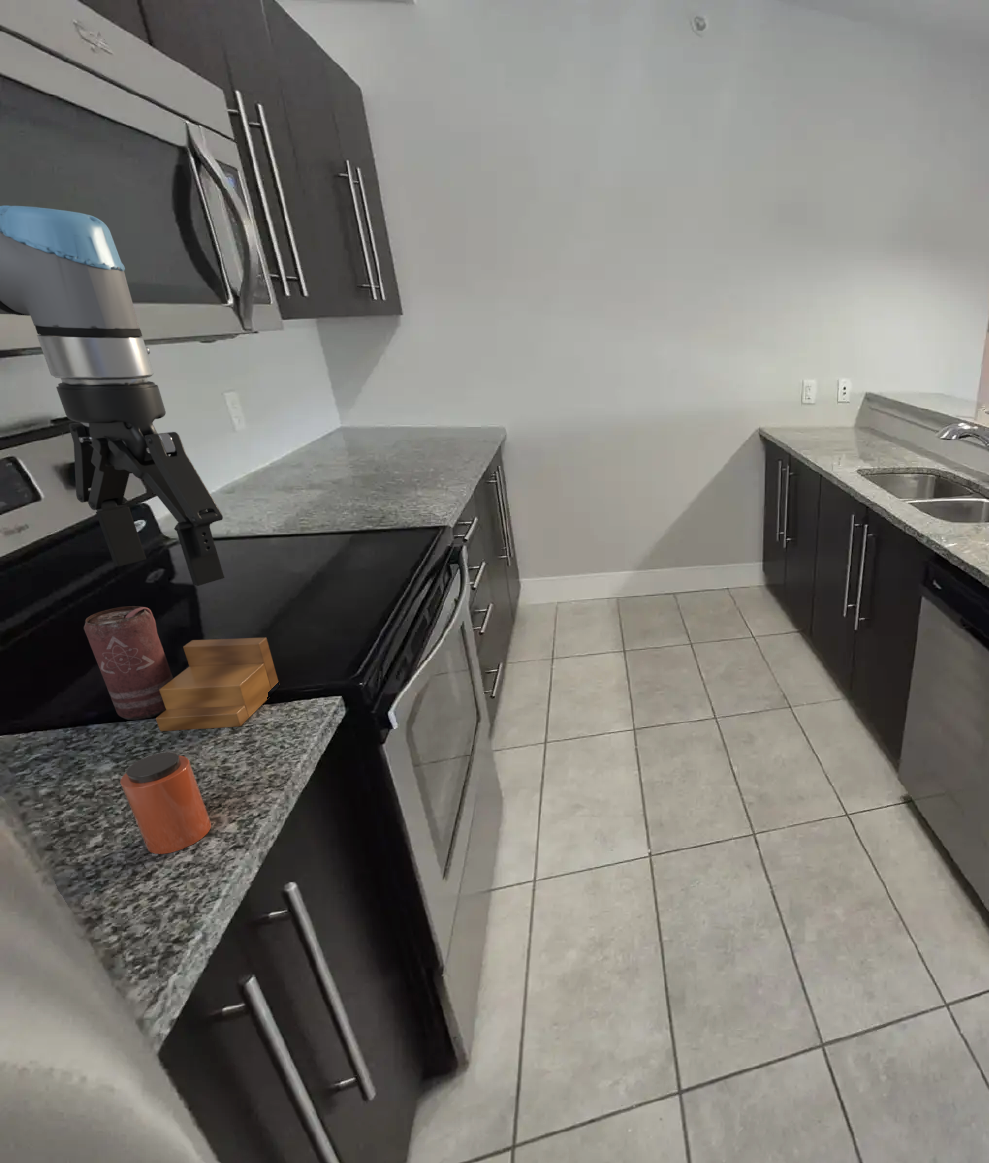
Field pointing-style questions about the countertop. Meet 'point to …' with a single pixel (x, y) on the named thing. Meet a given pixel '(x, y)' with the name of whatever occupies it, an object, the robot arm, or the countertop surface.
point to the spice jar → (166, 802)
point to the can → (130, 659)
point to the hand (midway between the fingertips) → (169, 572)
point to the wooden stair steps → (218, 684)
